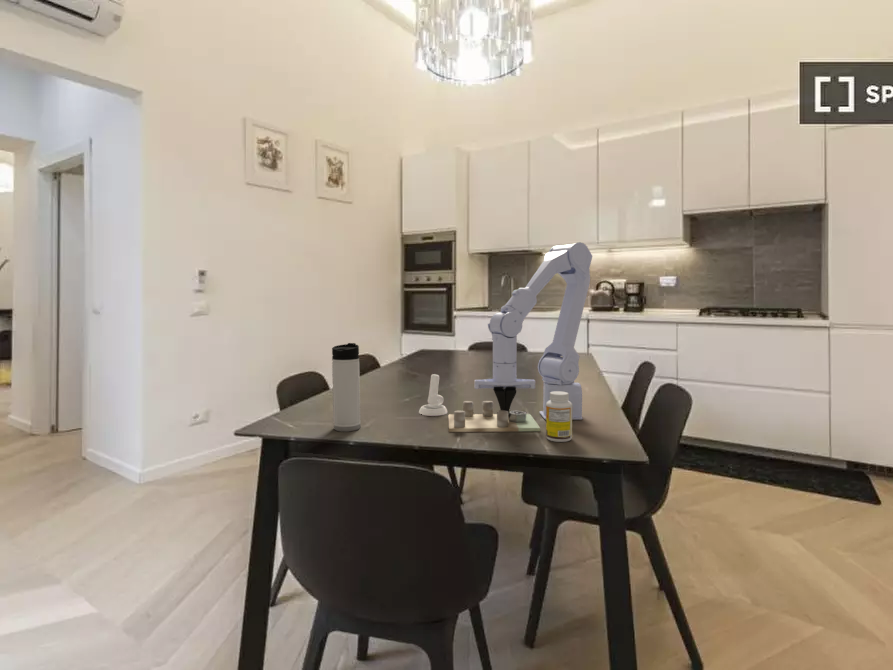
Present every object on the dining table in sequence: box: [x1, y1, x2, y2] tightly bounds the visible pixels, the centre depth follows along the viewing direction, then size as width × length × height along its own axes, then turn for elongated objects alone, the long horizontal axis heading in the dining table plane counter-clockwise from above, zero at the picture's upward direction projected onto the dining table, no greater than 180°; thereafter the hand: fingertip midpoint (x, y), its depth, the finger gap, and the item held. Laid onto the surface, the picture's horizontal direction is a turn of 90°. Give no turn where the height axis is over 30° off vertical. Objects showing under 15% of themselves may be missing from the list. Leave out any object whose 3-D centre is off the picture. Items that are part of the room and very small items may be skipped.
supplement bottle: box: [545, 391, 573, 443], centre depth 115 cm, size 6×6×10 cm
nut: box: [509, 410, 527, 423], centre depth 128 cm, size 5×4×2 cm
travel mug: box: [331, 342, 361, 433], centre depth 124 cm, size 6×7×20 cm
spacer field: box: [447, 400, 520, 433], centre depth 128 cm, size 16×14×4 cm
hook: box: [418, 373, 448, 417], centre depth 143 cm, size 8×12×7 cm
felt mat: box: [516, 413, 541, 432], centre depth 128 cm, size 5×14×1 cm, turn 0°
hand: (504, 417), depth 128 cm, fingers closed
